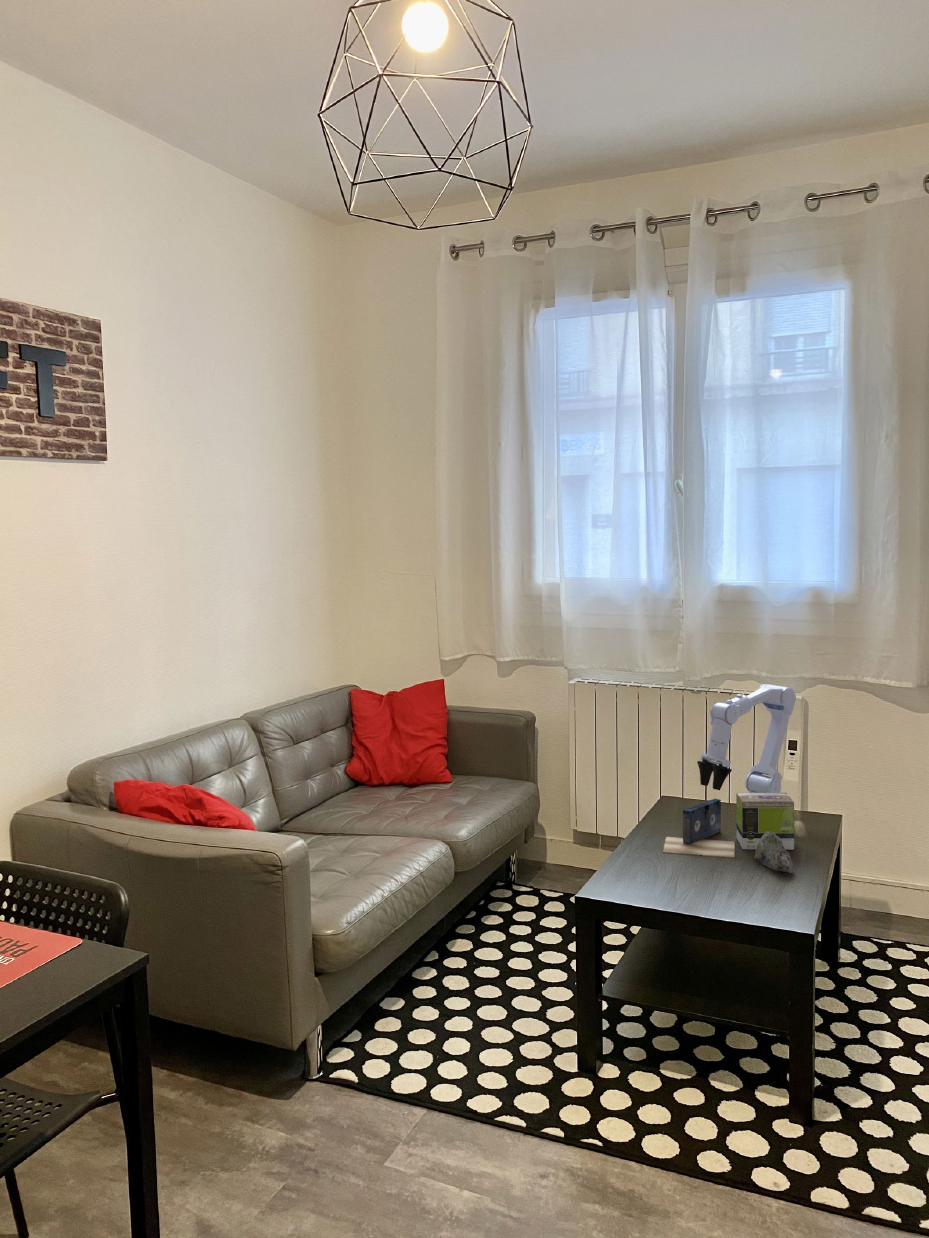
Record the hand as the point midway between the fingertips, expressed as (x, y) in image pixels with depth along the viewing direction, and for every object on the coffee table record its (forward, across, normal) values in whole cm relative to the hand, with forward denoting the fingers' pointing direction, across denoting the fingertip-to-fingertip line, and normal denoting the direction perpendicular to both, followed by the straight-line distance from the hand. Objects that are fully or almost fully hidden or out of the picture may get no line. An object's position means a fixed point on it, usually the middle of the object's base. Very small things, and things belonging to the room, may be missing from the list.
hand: (710, 787), depth 292 cm
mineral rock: (+17, +25, +10) cm, 32 cm away
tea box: (+13, +7, +17) cm, 23 cm away
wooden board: (+18, +4, -2) cm, 18 cm away
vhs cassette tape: (+16, -4, +3) cm, 16 cm away
